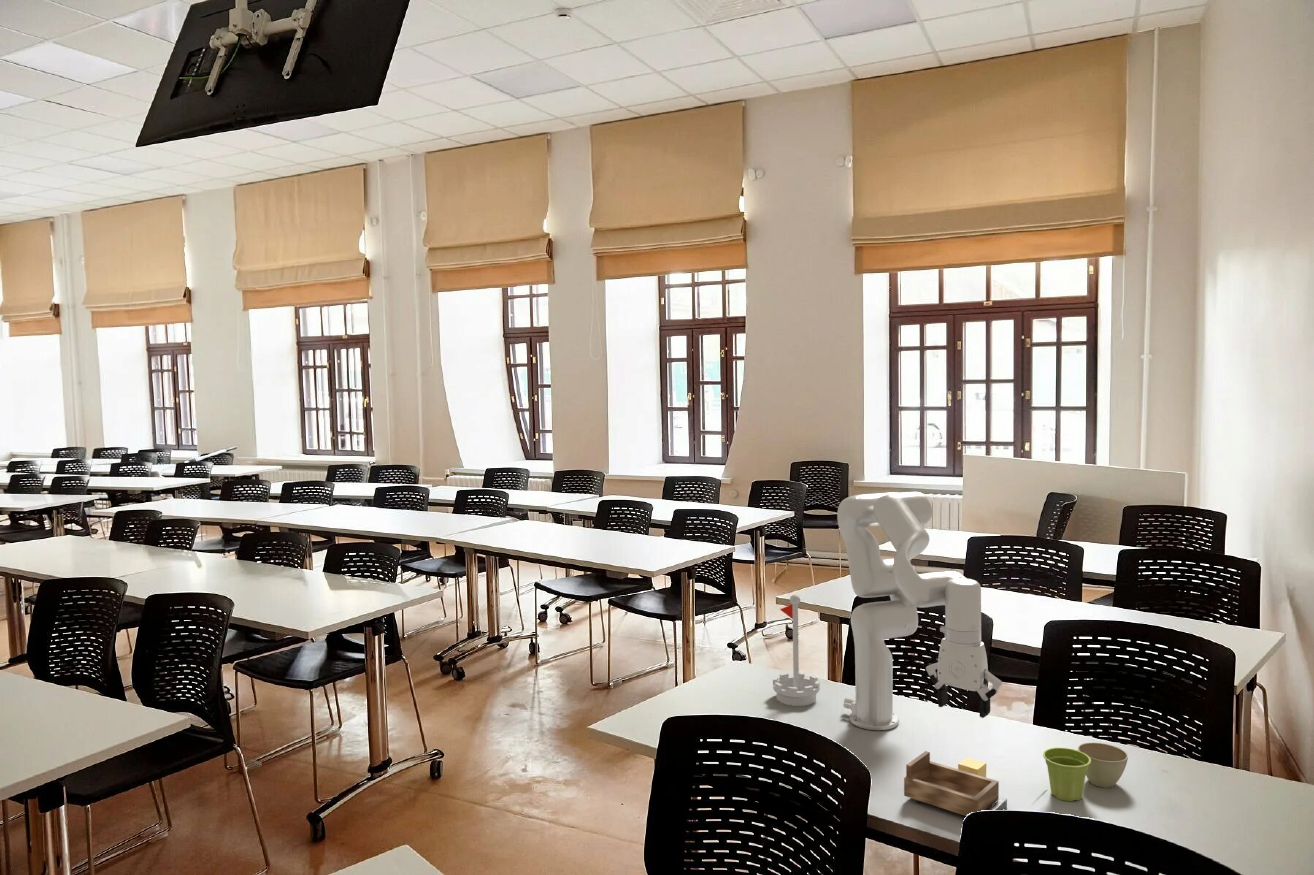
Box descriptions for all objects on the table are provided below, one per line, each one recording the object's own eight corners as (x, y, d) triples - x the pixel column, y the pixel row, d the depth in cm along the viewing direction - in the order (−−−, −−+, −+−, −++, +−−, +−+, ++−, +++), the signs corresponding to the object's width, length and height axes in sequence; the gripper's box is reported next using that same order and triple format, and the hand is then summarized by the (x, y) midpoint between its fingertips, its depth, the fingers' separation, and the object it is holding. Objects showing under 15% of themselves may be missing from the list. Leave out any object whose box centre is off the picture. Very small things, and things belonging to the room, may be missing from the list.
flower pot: (1107, 797, 197) (1108, 765, 196) (1067, 779, 205) (1068, 748, 205) (1137, 786, 201) (1138, 755, 201) (1097, 769, 210) (1097, 738, 209)
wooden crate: (904, 801, 196) (904, 766, 195) (927, 782, 204) (927, 749, 203) (976, 825, 185) (976, 788, 185) (998, 805, 193) (998, 770, 193)
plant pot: (1087, 809, 191) (1087, 769, 191) (1039, 799, 196) (1039, 760, 196) (1092, 791, 199) (1093, 753, 199) (1046, 781, 204) (1047, 744, 204)
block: (958, 783, 205) (958, 763, 205) (966, 776, 208) (967, 757, 208) (977, 789, 202) (977, 769, 201) (986, 782, 205) (986, 763, 205)
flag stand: (828, 697, 259) (827, 593, 256) (803, 711, 249) (802, 603, 246) (789, 687, 267) (788, 586, 265) (764, 700, 257) (762, 595, 255)
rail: (862, 789, 203) (862, 779, 203) (887, 772, 211) (886, 762, 211) (985, 830, 184) (985, 819, 184) (1006, 810, 192) (1006, 799, 192)
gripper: (918, 632, 205) (919, 706, 207) (993, 646, 193) (993, 725, 194) (935, 624, 211) (935, 697, 212) (1008, 638, 199) (1008, 715, 200)
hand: (963, 710), depth 203 cm, fingers open, 9 cm apart
